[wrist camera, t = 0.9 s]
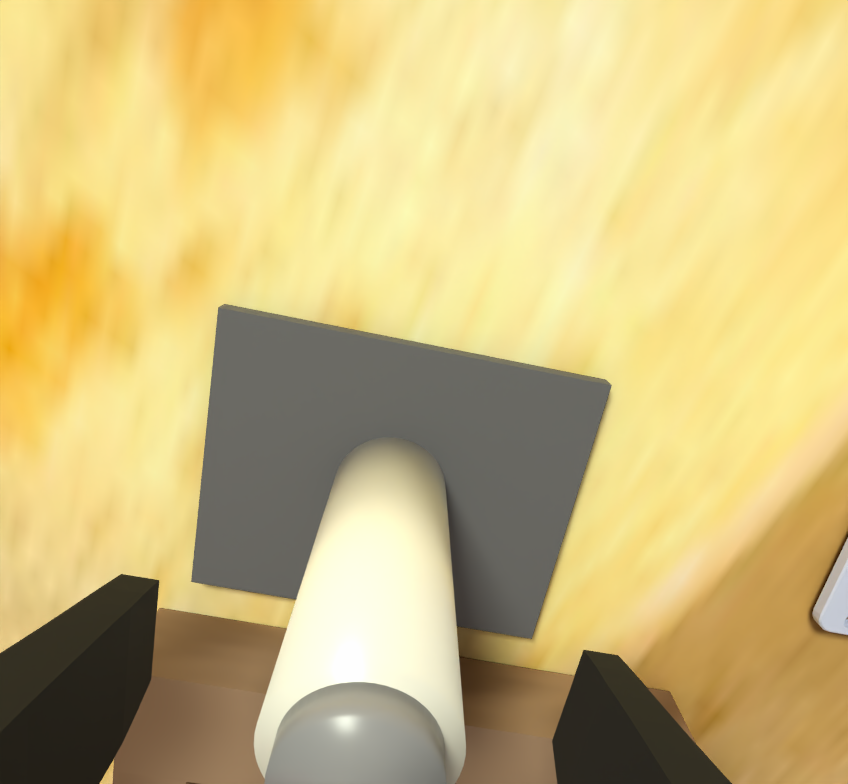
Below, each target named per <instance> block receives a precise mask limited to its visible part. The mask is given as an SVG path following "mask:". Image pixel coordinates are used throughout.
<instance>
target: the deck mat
mask: <svg viewBox="0 0 848 784" xmlns="http://www.w3.org/2000/svg"><path fill="white" fill-rule="evenodd" d="M611 386H612V385H611V384H610V383H609V382H608V381H607V380H605V379H600V378H595V377H589V376H584V375H579V374H574V373H569V372H564V371H559V370H554V369H549V368H544V367H539V366H534V365H529V364H524V363H519V362H514V361H509V360H504V359H499V358H494V357H489V356H484V355H479V354H474V353H469V352H464V351H459V350H453V349H448V348H443V347H438V346H433V345H428V344H423V343H418V342H413V341H408V340H403V339H398V338H393V337H388V336H383V335H378V334H373V333H368V332H363V331H358V330H353V329H348V328H343V327H338V326H333V325H328V324H323V323H317V322H312V321H307V320H302V319H297V318H292V317H287V316H282V315H277V314H272V313H267V312H262V311H257V310H252V309H247V308H242V307H237V306H232V305H227V304H224V305H222V306H220V307H218V317H217V327H216V337H215V347H214V357H213V367H212V377H211V388H210V398H209V408H208V418H207V428H206V438H205V448H204V459H203V469H202V479H201V489H200V499H199V509H198V519H197V530H196V540H195V550H194V560H193V570H192V580H191V582H195V583H201V584H207V585H213V586H219V587H225V588H231V589H237V590H243V591H249V592H255V593H261V594H267V595H273V596H279V597H285V598H291V599H297V595H298V592H299V589H300V586H301V583H302V580H303V577H304V573H305V570H306V567H307V564H308V561H309V558H310V555H311V551H312V548H313V545H314V542H315V539H316V536H317V533H318V529H319V526H320V523H321V520H322V517H323V514H324V510H325V507H326V504H327V501H328V498H329V495H330V492H331V488H332V485H333V482H334V479H335V476H336V473H337V470H338V468H339V466H340V464H341V462H342V461H343V459H344V458H345V457H346V456H347V455H348V454H349V453H350V452H351V451H352V450H353V449H354V448H356V447H357V446H359V445H361V444H363V443H365V442H367V441H370V440H373V439H377V438H385V437H393V438H401V439H405V440H408V441H411V442H413V443H416V444H417V445H419V446H421V447H423V448H424V449H425V450H427V451H428V452H429V453H430V454H431V455H432V456H433V457H434V458H435V460H436V461H437V462H438V464H439V466H440V467H441V470H442V472H443V475H444V479H445V486H446V498H447V511H448V524H449V536H450V549H451V561H452V574H453V587H454V599H455V612H456V625H457V626H458V627H464V628H470V629H476V630H482V631H488V632H494V633H500V634H506V635H512V636H518V637H524V638H530V639H532V636H533V633H534V630H535V627H536V623H537V620H538V617H539V614H540V611H541V608H542V604H543V601H544V598H545V595H546V592H547V589H548V585H549V582H550V579H551V576H552V573H553V570H554V566H555V563H556V560H557V557H558V554H559V551H560V547H561V544H562V541H563V538H564V535H565V531H566V528H567V525H568V522H569V519H570V516H571V512H572V509H573V506H574V503H575V500H576V497H577V493H578V490H579V487H580V484H581V481H582V478H583V474H584V471H585V468H586V465H587V462H588V459H589V455H590V452H591V449H592V446H593V443H594V439H595V436H596V433H597V430H598V427H599V424H600V420H601V417H602V414H603V411H604V408H605V405H606V401H607V398H608V395H609V392H610V389H611Z"/></svg>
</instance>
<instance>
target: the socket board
mask: <svg viewBox="0 0 848 784" xmlns="http://www.w3.org/2000/svg"><path fill="white" fill-rule="evenodd" d="M286 630H287V629H285V628H279V627H273V626H267V625H261V624H255V623H248V622H242V621H236V620H230V619H224V618H218V617H212V616H206V615H200V614H194V613H188V612H181V611H175V610H169V609H163V608H159V610H158V611H157V613H156V626H155V638H154V651H153V664H152V676H151V681H150V684H149V686H148V688H147V690H146V693H145V695H144V697H143V700H142V702H141V704H140V706H139V709H138V711H137V713H136V715H135V717H134V720H133V722H132V724H131V726H130V728H129V730H128V733H127V735H126V737H125V739H124V741H123V743H122V745H121V747H120V749H119V750H118V752H117V754H116V756H115V757H114V771H113V784H264V783H265V779H264V777H263V775H262V773H261V771H260V769H259V767H258V764H257V761H256V757H255V751H254V733H255V729H256V725H257V721H258V718H259V715H260V712H261V709H262V706H263V703H264V699H265V696H266V693H267V690H268V687H269V684H270V680H271V677H272V674H273V671H274V668H275V665H276V662H277V658H278V655H279V652H280V649H281V646H282V643H283V640H284V636H285V633H286ZM459 663H460V675H461V688H462V701H463V713H464V726H465V739H466V756H465V761H464V766H463V768H462V771H461V773H460V776H459V778H458V779H457V781H456V783H455V784H557V778H556V769H555V761H554V753H553V745H552V739H553V736H554V734H555V731H556V728H557V725H558V722H559V719H560V716H561V714H562V711H563V708H564V705H565V702H566V699H567V696H568V694H569V691H570V688H571V685H572V682H573V679H574V676H572V675H565V674H559V673H553V672H547V671H541V670H535V669H529V668H523V667H517V666H511V665H504V664H498V663H492V662H486V661H480V660H474V659H468V658H462V657H459ZM648 689H649V691H650V692H651V693H652V694H653V695H654V696H655V698H656V699H657V700H658V701H659V702H660V703H661V704H662V706H663V707H664V708H665V709H666V710H667V711H668V713H669V714H670V715H671V716H672V717H673V718H674V719H675V721H676V722H677V723H678V724H679V725H680V726H681V728H682V729H683V730H684V731H685V732H686V733H687V734H688V736H689V737H690V738H691V739H692V740H693V741H694V739H693V737H692V735H691V733H690V731H689V729H688V727H687V725H686V723H685V721H684V719H683V717H682V715H681V713H680V711H679V709H678V707H677V705H676V703H675V701H674V699H673V697H672V695H671V693H670V692H669V691H663V690H657V689H651V688H648ZM694 742H695V741H694Z"/></svg>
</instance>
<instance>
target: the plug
mask: <svg viewBox="0 0 848 784" xmlns="http://www.w3.org/2000/svg"><path fill="white" fill-rule="evenodd" d="M254 751H255V757H256V761H257V764H258V767H259V769H260V771H261V773H262V775H263V777H264V779H265V783H264V784H455V783H456V781H457V779H458V778H459V776H460V773H461V771H462V768H463V766H464V761H465V756H466V739H465V726H464V713H463V701H462V688H461V675H460V663H459V650H458V637H457V625H456V612H455V599H454V587H453V574H452V561H451V549H450V536H449V524H448V511H447V498H446V486H445V479H444V475H443V472H442V470H441V467H440V466H439V464H438V462H437V461H436V460H435V458H434V457H433V456H432V455H431V454H430V453H429V452H428V451H427V450H425V449H424V448H423V447H421V446H419V445H417V444H416V443H413V442H411V441H408V440H405V439H401V438H393V437H385V438H377V439H373V440H370V441H367V442H365V443H363V444H361V445H359V446H357V447H356V448H354V449H353V450H352V451H351V452H350V453H349V454H348V455H347V456H346V457H345V458H344V459H343V461H342V462H341V464H340V466H339V468H338V470H337V473H336V476H335V479H334V482H333V485H332V488H331V492H330V495H329V498H328V501H327V504H326V507H325V510H324V514H323V517H322V520H321V523H320V526H319V529H318V533H317V536H316V539H315V542H314V545H313V548H312V551H311V555H310V558H309V561H308V564H307V567H306V570H305V573H304V577H303V580H302V583H301V586H300V589H299V592H298V595H297V599H296V602H295V605H294V608H293V611H292V614H291V618H290V621H289V624H288V627H287V630H286V633H285V636H284V640H283V643H282V646H281V649H280V652H279V655H278V658H277V662H276V665H275V668H274V671H273V674H272V677H271V680H270V684H269V687H268V690H267V693H266V696H265V699H264V703H263V706H262V709H261V712H260V715H259V718H258V721H257V725H256V729H255V733H254Z"/></svg>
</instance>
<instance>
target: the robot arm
mask: <svg viewBox="0 0 848 784" xmlns="http://www.w3.org/2000/svg"><path fill="white" fill-rule="evenodd" d="M158 588H159V580H154V579H148V578H141V577H135V576H129V575H123V574H121V575H119V576H118V577H116V578H115V579H113V580H112V581H110V582H108V583H107V584H105V585H104V586H102V587H101V588H99V589H98V590H96V591H95V592H93V593H92V594H90V595H89V596H87V597H86V598H84V599H83V600H81V601H80V602H78V603H77V604H75V605H74V606H72V607H71V608H69V609H68V610H66V611H65V612H63V613H62V614H60V615H59V616H57V617H56V618H54V619H53V620H51V621H50V622H48V623H47V624H45V625H44V626H42V627H41V628H39V629H37V630H36V631H34V632H33V633H31V634H30V635H28V636H26V637H25V638H23V639H22V640H20V641H19V642H17V643H16V644H14V645H12V646H11V647H9V648H8V649H6V650H5V651H3V652H1V653H0V784H99V783H100V781H101V780H102V778H103V776H104V775H105V773H106V771H107V769H108V768H109V766H110V764H111V763H112V761H113V759H114V757H115V756H116V754H117V752H118V750H119V749H120V747H121V745H122V743H123V741H124V739H125V737H126V735H127V733H128V730H129V728H130V726H131V724H132V722H133V720H134V717H135V715H136V713H137V711H138V709H139V706H140V704H141V702H142V700H143V697H144V695H145V693H146V690H147V688H148V686H149V684H150V681H151V676H152V664H153V651H154V638H155V626H156V613H157V601H158ZM812 615H813V619H814V620H815V621H816V622H817V623H818V624H819V625H820V626H821V627H822V629H823V630H826V631H828V632H833V633H838V634H844V635H848V619H846V618H847V617H848V538H847V541H846V543H845V545H844V547H843V549H842V551H841V553H840V555H839V557H838V559H837V561H836V563H835V565H834V567H833V570H832V572H831V574H830V576H829V578H828V580H827V582H826V584H825V586H824V588H823V590H822V592H821V594H820V596H819V599H818V601H817V603H816V605H815V607H814V609H813V613H812ZM552 745H553V753H554V761H555V769H556V778H557V784H732V783H731V782H730V781H729V780H728V779H727V778H726V777H725V776H724V775H723V773H722V772H721V771H720V770H719V769H718V768H717V767H716V766H715V765H714V764H713V762H712V761H711V760H710V759H709V758H708V757H707V756H706V755H705V754H704V752H703V751H702V750H701V749H700V748H699V747H698V746H697V745H696V743H695V742H694V741H693V740H692V739H691V738H690V737H689V736H688V734H687V733H686V732H685V731H684V730H683V729H682V728H681V726H680V725H679V724H678V723H677V722H676V721H675V719H674V718H673V717H672V716H671V715H670V714H669V713H668V711H667V710H666V709H665V708H664V707H663V706H662V704H661V703H660V702H659V701H658V700H657V699H656V698H655V696H654V695H653V694H652V693H651V692H650V691H649V689H648V688H647V687H646V686H645V685H644V684H643V683H642V681H641V680H640V679H639V678H638V677H637V676H636V675H635V673H634V672H633V671H632V670H631V669H630V668H629V667H628V666H627V665H626V663H625V662H624V661H623V660H622V659H621V658H620V657H619V656H618V655H612V654H606V653H600V652H594V651H588V650H584V651H583V654H582V656H581V659H580V662H579V665H578V668H577V671H576V674H575V676H574V679H573V682H572V685H571V688H570V691H569V694H568V696H567V699H566V702H565V705H564V708H563V711H562V714H561V716H560V719H559V722H558V725H557V728H556V731H555V734H554V736H553V739H552Z"/></svg>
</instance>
